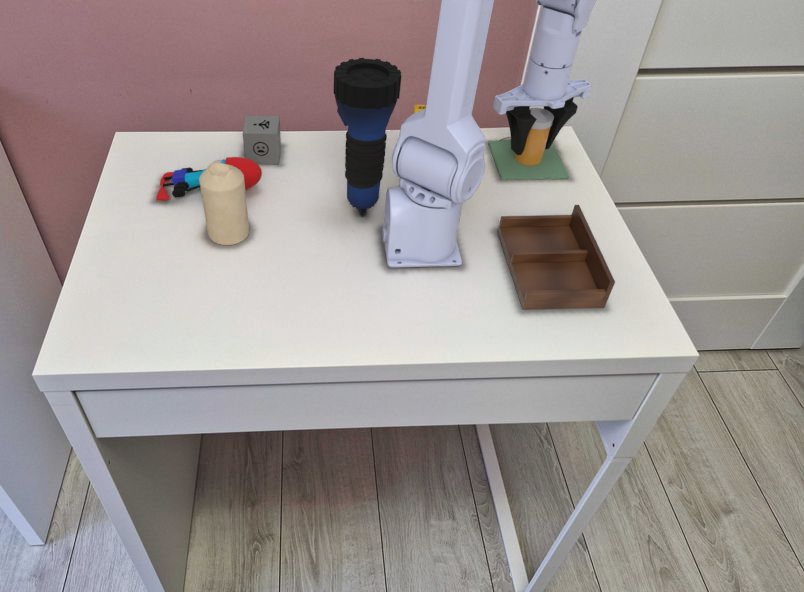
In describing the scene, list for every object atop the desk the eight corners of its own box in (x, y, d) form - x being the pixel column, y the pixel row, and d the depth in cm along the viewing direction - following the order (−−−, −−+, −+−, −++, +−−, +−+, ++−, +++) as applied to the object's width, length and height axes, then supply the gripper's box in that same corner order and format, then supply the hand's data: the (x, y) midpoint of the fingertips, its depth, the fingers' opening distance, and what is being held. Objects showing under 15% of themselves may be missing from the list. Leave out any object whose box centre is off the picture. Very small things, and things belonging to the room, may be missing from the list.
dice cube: (278, 164, 103) (277, 133, 100) (245, 163, 103) (242, 133, 100) (281, 146, 107) (279, 116, 103) (248, 145, 107) (245, 115, 103)
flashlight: (369, 188, 99) (377, 50, 85) (401, 218, 95) (415, 77, 80) (321, 205, 97) (321, 65, 82) (352, 236, 92) (357, 94, 77)
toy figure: (159, 213, 97) (263, 200, 95) (147, 182, 94) (254, 168, 92) (169, 186, 103) (268, 172, 101) (158, 156, 100) (260, 141, 98)
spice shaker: (522, 168, 103) (533, 125, 97) (507, 153, 105) (517, 110, 100) (548, 163, 104) (560, 120, 99) (532, 147, 106) (543, 105, 101)
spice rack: (522, 309, 83) (530, 284, 80) (497, 231, 93) (503, 205, 90) (604, 307, 83) (615, 281, 80) (570, 230, 94) (579, 204, 90)
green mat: (501, 179, 101) (501, 177, 101) (488, 143, 108) (488, 140, 108) (568, 178, 102) (569, 176, 101) (551, 142, 108) (551, 139, 108)
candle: (256, 225, 93) (250, 160, 86) (239, 249, 90) (231, 184, 83) (219, 216, 95) (209, 151, 87) (200, 240, 91) (189, 175, 84)
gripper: (520, 81, 89) (500, 172, 99) (614, 63, 93) (586, 153, 103) (493, 57, 93) (477, 147, 104) (584, 41, 97) (560, 129, 107)
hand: (530, 148), depth 103 cm, fingers closed on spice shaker, 4 cm apart
